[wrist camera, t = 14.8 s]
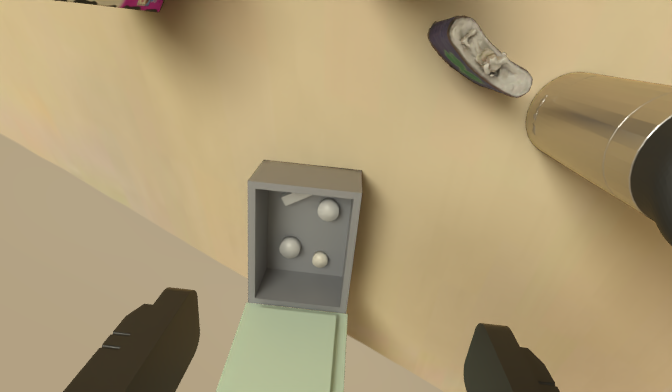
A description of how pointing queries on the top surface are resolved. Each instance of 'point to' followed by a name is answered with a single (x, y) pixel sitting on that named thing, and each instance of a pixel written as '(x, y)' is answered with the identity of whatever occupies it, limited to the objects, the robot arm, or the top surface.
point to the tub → (302, 235)
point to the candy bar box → (125, 4)
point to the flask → (477, 56)
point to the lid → (286, 351)
